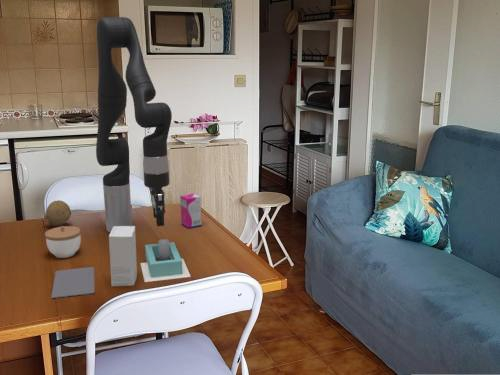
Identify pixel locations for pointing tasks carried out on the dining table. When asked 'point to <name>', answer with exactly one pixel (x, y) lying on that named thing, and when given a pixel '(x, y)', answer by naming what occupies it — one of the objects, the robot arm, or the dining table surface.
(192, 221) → the supplement box
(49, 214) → the natural sponge
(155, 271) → the teal link
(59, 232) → the lidded jar
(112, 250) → the skincare box
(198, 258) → the dining table surface
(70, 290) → the grey mat
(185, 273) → the post stand
